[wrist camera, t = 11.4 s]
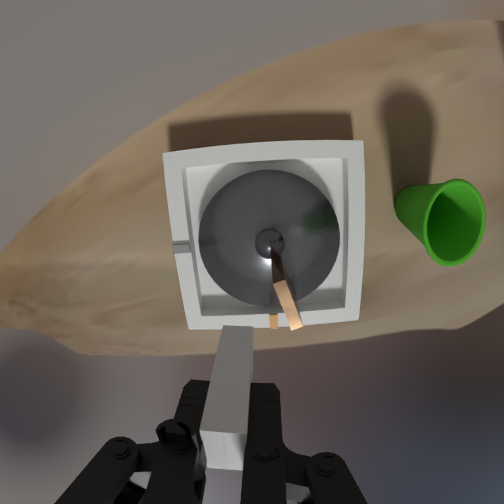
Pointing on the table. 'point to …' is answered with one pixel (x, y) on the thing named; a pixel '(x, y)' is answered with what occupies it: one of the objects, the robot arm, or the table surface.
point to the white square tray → (261, 158)
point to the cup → (444, 219)
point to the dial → (269, 239)
